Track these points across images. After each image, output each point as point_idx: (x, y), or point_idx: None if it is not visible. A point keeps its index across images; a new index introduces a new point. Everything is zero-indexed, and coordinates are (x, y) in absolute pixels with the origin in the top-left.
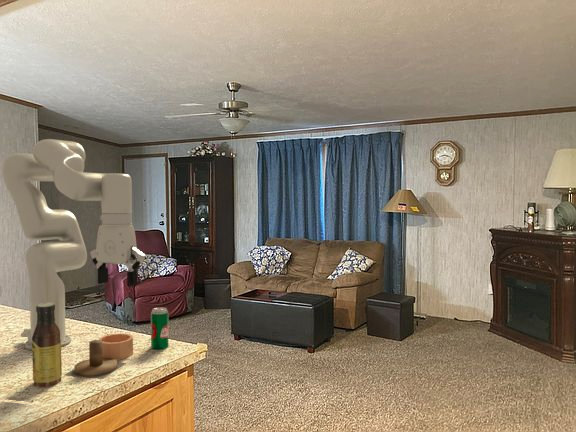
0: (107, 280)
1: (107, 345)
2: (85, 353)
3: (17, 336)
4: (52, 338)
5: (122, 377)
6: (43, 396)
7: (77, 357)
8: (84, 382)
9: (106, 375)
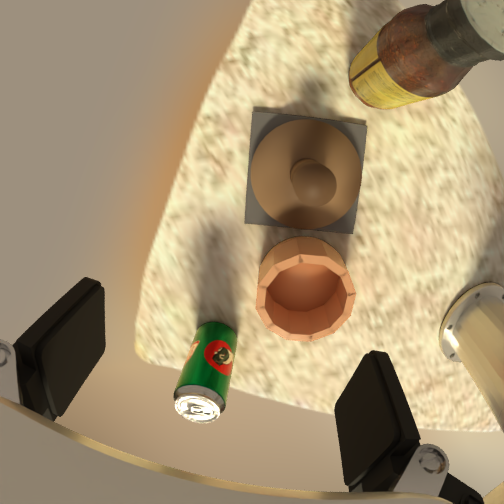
0: (338, 409)
1: (310, 252)
2: (387, 286)
3: None
4: (390, 21)
5: (213, 139)
6: (341, 20)
7: (395, 258)
8: (294, 96)
9: (253, 132)
